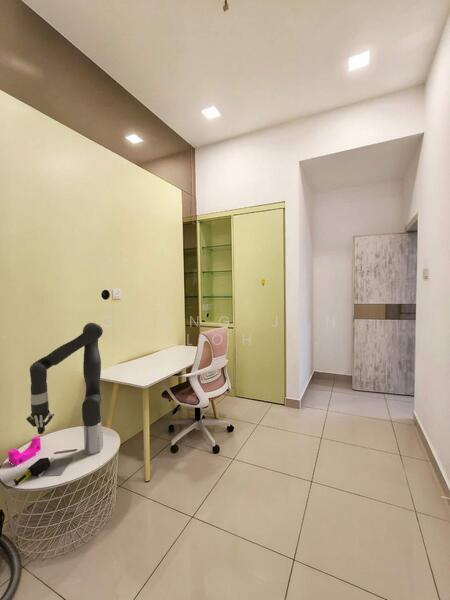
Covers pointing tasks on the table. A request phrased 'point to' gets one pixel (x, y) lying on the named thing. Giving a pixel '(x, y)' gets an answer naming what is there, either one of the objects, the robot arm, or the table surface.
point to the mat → (56, 467)
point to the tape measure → (34, 469)
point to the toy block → (24, 452)
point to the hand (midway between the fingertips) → (41, 433)
